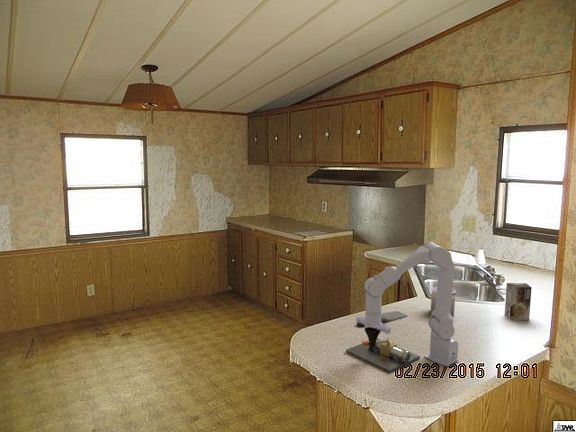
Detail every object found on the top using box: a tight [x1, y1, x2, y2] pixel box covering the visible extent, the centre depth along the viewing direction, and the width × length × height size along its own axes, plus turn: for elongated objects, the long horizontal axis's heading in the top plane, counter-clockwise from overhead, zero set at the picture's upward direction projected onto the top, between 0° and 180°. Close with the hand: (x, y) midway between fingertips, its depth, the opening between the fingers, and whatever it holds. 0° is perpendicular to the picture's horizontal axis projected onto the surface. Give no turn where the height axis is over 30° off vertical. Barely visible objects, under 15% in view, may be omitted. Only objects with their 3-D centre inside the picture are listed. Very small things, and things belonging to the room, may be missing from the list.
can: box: [430, 286, 457, 317], centre depth 210 cm, size 11×11×12 cm
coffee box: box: [504, 282, 532, 321], centre depth 205 cm, size 9×6×16 cm
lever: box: [361, 338, 393, 346], centre depth 163 cm, size 12×2×1 cm, turn 104°
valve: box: [345, 338, 421, 374], centre depth 166 cm, size 21×18×6 cm
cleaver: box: [356, 310, 408, 328], centre depth 203 cm, size 29×10×2 cm, turn 124°
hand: (372, 346), depth 161 cm, fingers closed, pressing on lever
